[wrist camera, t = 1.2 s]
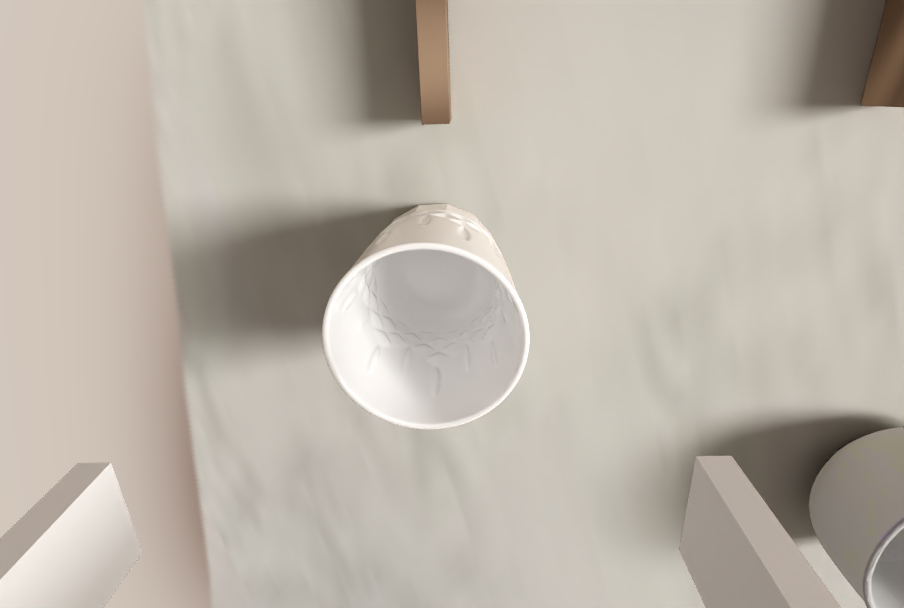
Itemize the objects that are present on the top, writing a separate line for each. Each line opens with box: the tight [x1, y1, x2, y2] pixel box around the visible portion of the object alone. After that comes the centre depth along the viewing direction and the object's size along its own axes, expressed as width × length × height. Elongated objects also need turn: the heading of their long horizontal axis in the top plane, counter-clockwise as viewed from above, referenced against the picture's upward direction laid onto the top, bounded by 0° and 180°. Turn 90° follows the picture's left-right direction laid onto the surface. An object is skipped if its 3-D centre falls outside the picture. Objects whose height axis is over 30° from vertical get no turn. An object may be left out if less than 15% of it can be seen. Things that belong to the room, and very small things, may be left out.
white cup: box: [322, 204, 529, 429], centre depth 24 cm, size 8×8×10 cm
